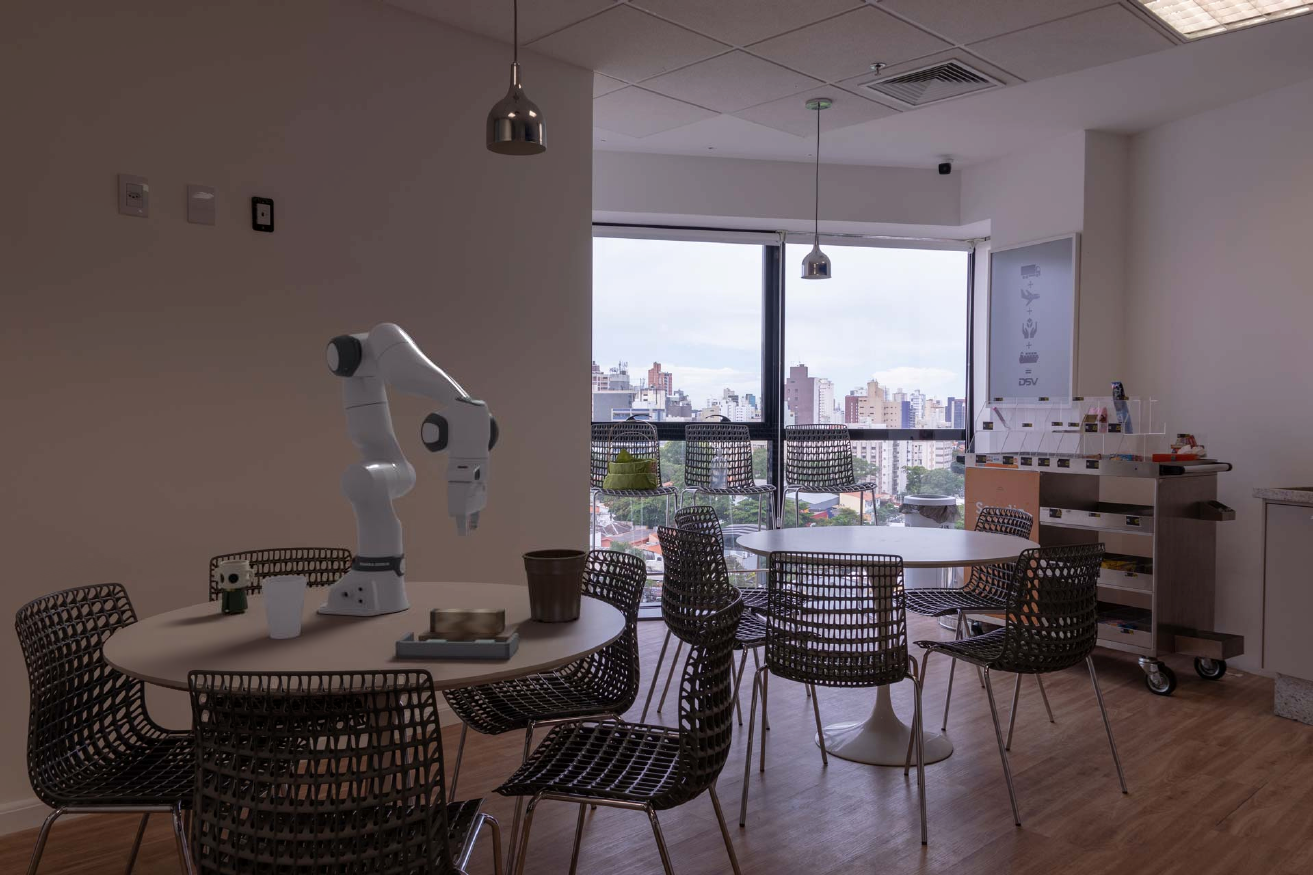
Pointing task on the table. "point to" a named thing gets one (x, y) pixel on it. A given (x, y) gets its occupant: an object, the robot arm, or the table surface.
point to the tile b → (485, 641)
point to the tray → (455, 649)
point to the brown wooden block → (467, 620)
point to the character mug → (234, 584)
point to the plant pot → (555, 583)
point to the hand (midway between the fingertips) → (468, 532)
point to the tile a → (436, 640)
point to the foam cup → (284, 605)
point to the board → (469, 635)
